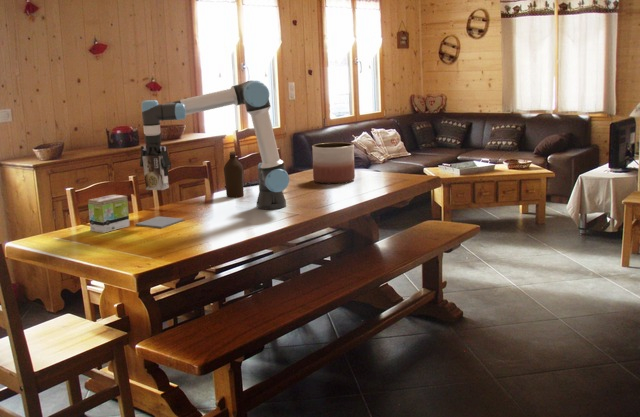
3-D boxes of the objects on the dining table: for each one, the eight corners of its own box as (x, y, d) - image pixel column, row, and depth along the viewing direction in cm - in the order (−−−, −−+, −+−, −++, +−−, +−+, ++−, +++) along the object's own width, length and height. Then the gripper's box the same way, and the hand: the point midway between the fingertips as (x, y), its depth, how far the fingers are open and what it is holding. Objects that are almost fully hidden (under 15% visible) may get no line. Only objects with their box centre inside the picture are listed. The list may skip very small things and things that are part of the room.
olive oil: (232, 199, 369) (229, 153, 363) (222, 196, 377) (219, 152, 371) (248, 196, 375) (245, 151, 370) (238, 193, 383) (235, 149, 378)
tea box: (105, 233, 303) (101, 201, 300) (90, 231, 308) (86, 199, 305) (130, 226, 315) (127, 195, 312) (115, 224, 320) (112, 193, 317)
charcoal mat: (184, 220, 322) (184, 218, 322) (162, 228, 308) (161, 226, 308) (159, 217, 330) (158, 216, 329) (135, 225, 316) (135, 223, 316)
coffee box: (169, 187, 317) (166, 153, 314) (162, 190, 311) (159, 155, 308) (152, 187, 320) (149, 153, 316) (145, 189, 314) (141, 155, 311)
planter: (355, 183, 400) (354, 146, 395) (312, 185, 401) (311, 148, 396) (354, 176, 425) (353, 141, 420) (313, 178, 425) (312, 143, 421)
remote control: (224, 188, 403) (224, 185, 403) (270, 181, 421) (270, 178, 420) (230, 190, 397) (230, 187, 397) (276, 183, 415) (276, 180, 414)
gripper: (176, 133, 308) (180, 182, 313) (140, 133, 318) (144, 179, 323) (165, 135, 302) (170, 185, 306) (128, 134, 312) (133, 182, 317)
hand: (156, 182), depth 315 cm, fingers closed on coffee box, 10 cm apart
